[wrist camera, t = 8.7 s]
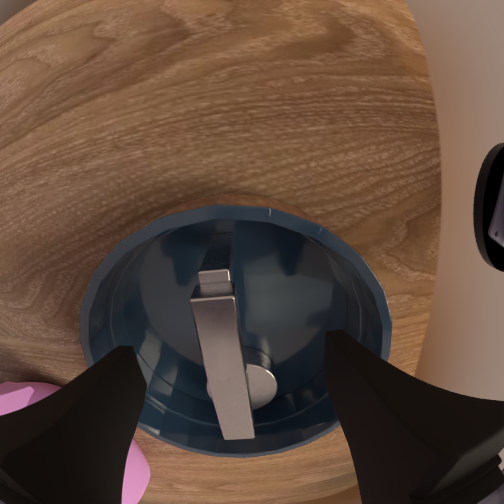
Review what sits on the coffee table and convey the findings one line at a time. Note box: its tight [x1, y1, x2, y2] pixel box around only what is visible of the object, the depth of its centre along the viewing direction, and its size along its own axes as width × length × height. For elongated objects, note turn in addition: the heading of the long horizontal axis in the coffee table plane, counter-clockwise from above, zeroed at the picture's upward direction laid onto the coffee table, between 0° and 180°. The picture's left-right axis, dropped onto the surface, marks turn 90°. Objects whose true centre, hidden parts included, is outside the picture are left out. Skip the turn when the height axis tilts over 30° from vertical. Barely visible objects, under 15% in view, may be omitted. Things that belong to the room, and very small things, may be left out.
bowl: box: [80, 193, 392, 458], centre depth 13 cm, size 14×14×4 cm
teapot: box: [0, 381, 150, 504], centre depth 13 cm, size 22×16×12 cm
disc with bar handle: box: [190, 233, 278, 440], centre depth 12 cm, size 10×4×6 cm, turn 5°
